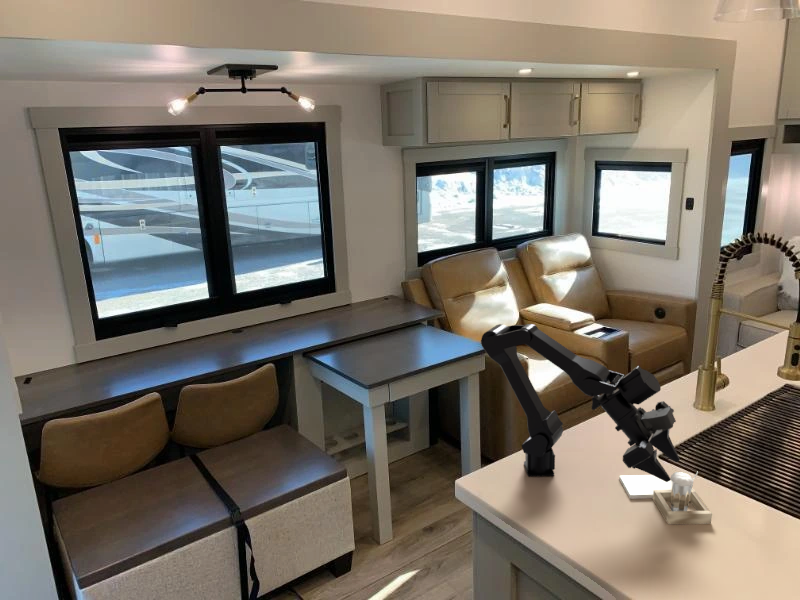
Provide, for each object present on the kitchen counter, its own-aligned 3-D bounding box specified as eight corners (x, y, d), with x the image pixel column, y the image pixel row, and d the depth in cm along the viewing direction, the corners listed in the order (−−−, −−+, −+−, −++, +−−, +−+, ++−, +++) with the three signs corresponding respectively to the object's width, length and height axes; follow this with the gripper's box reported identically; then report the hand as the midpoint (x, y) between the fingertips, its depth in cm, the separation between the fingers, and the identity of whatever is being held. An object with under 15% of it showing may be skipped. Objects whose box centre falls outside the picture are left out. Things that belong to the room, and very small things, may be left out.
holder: (668, 524, 131) (669, 514, 130) (652, 499, 139) (653, 490, 139) (710, 523, 130) (712, 513, 130) (692, 498, 139) (693, 489, 138)
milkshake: (696, 518, 132) (700, 478, 129) (670, 516, 133) (673, 476, 130) (691, 505, 136) (695, 466, 134) (665, 504, 137) (669, 465, 135)
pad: (630, 498, 140) (630, 494, 140) (619, 479, 148) (619, 475, 147) (678, 497, 139) (679, 493, 139) (665, 478, 147) (665, 474, 147)
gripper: (641, 412, 125) (695, 475, 121) (662, 380, 139) (712, 435, 136) (601, 438, 131) (652, 497, 128) (625, 404, 146) (672, 457, 142)
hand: (673, 470), depth 133 cm, fingers open, 9 cm apart
